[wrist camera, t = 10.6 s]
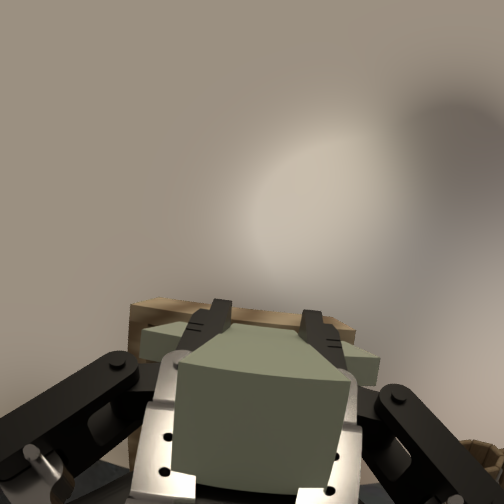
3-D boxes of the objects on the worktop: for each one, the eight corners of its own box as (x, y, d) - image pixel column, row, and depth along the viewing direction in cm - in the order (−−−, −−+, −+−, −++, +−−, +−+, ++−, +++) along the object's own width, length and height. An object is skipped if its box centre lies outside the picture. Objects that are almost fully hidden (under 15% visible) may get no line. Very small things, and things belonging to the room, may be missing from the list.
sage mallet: (2, 409, 5) (1, 311, 5) (177, 341, 22) (181, 307, 22) (494, 467, 4) (521, 372, 5) (341, 361, 21) (345, 327, 22)
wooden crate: (138, 539, 24) (130, 304, 26) (154, 502, 33) (159, 297, 35) (295, 559, 24) (355, 330, 26) (289, 519, 33) (331, 316, 35)
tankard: (412, 553, 21) (456, 476, 22) (397, 506, 34) (426, 433, 35) (517, 524, 18) (558, 448, 19) (490, 490, 30) (520, 421, 31)
